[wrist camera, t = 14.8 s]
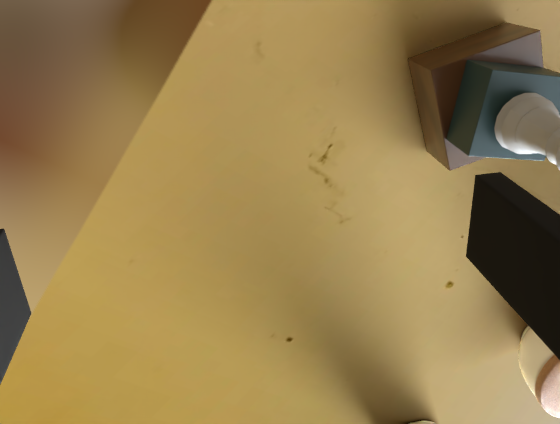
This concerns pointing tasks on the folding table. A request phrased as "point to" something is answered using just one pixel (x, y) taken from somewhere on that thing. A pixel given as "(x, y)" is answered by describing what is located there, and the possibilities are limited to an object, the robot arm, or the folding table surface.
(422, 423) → the paper towel roll
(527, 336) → the trinket box
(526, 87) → the top block
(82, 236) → the folding table surface
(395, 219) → the folding table surface
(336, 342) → the folding table surface
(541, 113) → the rook chess piece
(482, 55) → the base block
